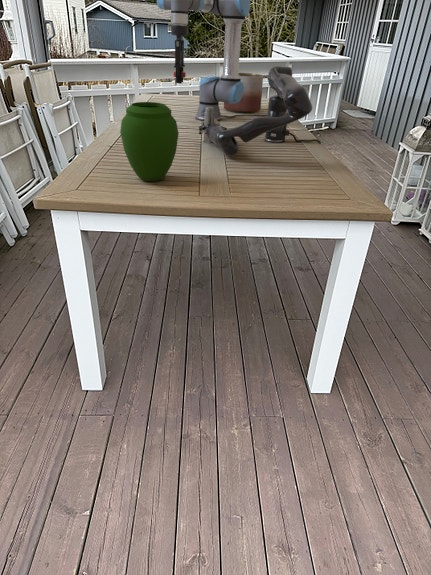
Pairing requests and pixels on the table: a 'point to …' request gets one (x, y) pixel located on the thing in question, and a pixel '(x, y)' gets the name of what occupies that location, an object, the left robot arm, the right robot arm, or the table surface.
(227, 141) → the right robot arm
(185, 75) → the lid
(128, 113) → the vase
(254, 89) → the planter
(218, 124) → the seashell
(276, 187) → the table surface
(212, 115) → the jar
